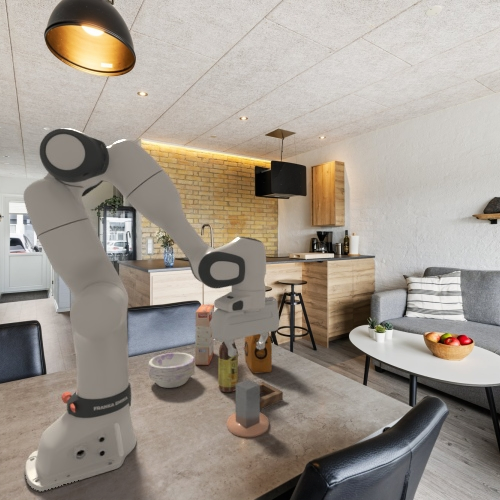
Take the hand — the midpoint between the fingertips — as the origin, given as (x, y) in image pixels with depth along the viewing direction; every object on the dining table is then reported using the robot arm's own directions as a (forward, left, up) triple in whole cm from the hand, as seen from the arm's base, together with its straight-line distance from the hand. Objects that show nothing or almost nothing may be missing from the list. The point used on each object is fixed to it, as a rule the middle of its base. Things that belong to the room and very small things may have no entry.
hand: (246, 352), depth 86 cm
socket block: (+12, +8, -19) cm, 24 cm away
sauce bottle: (+8, +20, -20) cm, 29 cm away
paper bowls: (-4, +36, -20) cm, 41 cm away
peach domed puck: (0, 0, -19) cm, 19 cm away
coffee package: (+27, +27, -20) cm, 43 cm away
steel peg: (0, 0, -19) cm, 19 cm away
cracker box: (+16, +47, -20) cm, 53 cm away
